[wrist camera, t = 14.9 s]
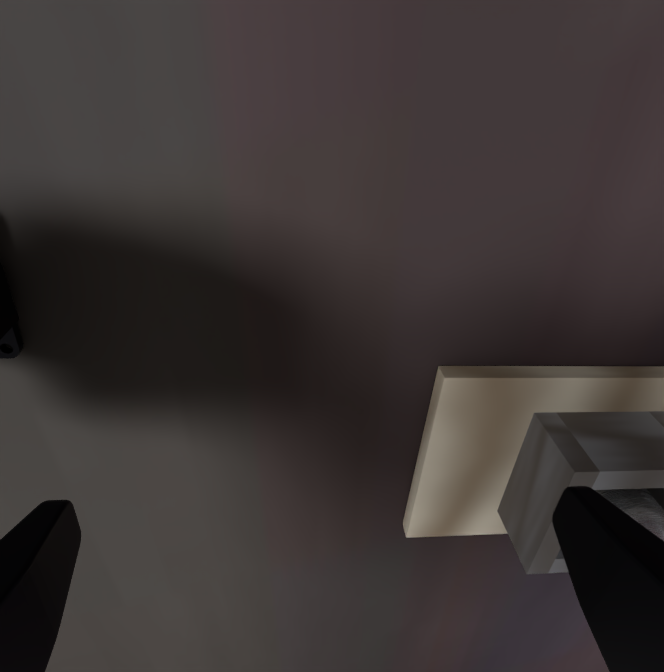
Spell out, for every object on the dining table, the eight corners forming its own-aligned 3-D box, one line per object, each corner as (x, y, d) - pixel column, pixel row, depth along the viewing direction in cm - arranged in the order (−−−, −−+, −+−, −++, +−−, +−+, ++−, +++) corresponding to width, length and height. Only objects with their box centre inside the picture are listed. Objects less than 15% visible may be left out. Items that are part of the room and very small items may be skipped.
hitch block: (402, 523, 30) (423, 603, 26) (438, 365, 24) (473, 437, 20) (665, 513, 32) (724, 586, 28) (762, 366, 26) (856, 430, 22)
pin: (544, 495, 28) (693, 751, 18) (541, 449, 26) (707, 710, 16) (612, 477, 28) (802, 727, 18) (614, 429, 26) (831, 682, 16)
